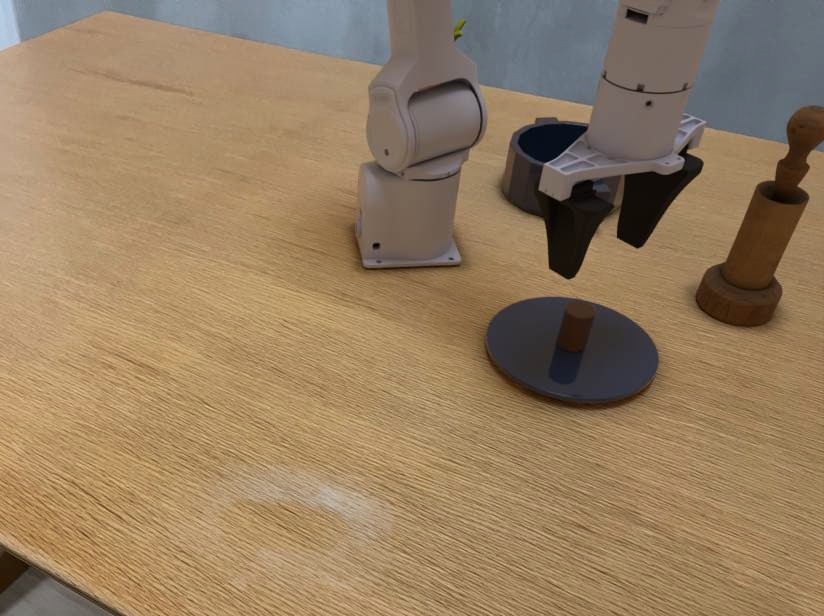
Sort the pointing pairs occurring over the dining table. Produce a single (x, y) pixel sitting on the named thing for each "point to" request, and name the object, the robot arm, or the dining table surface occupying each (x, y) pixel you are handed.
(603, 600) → the dining table surface
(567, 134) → the pot
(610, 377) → the lid
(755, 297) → the mortar and pestle
